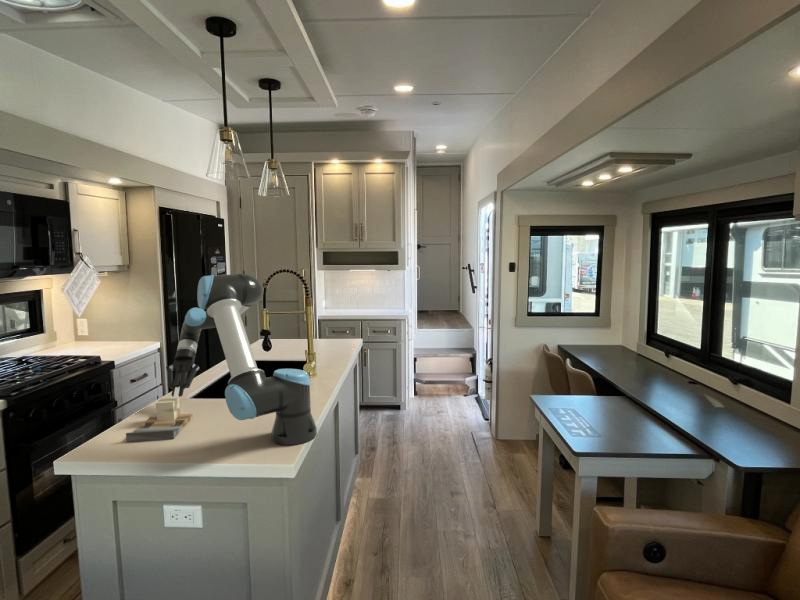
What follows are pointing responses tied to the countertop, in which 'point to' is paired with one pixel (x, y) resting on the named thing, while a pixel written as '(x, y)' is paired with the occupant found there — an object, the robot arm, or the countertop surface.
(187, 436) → the countertop surface
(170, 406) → the ash block
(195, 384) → the countertop surface
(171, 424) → the trap board
